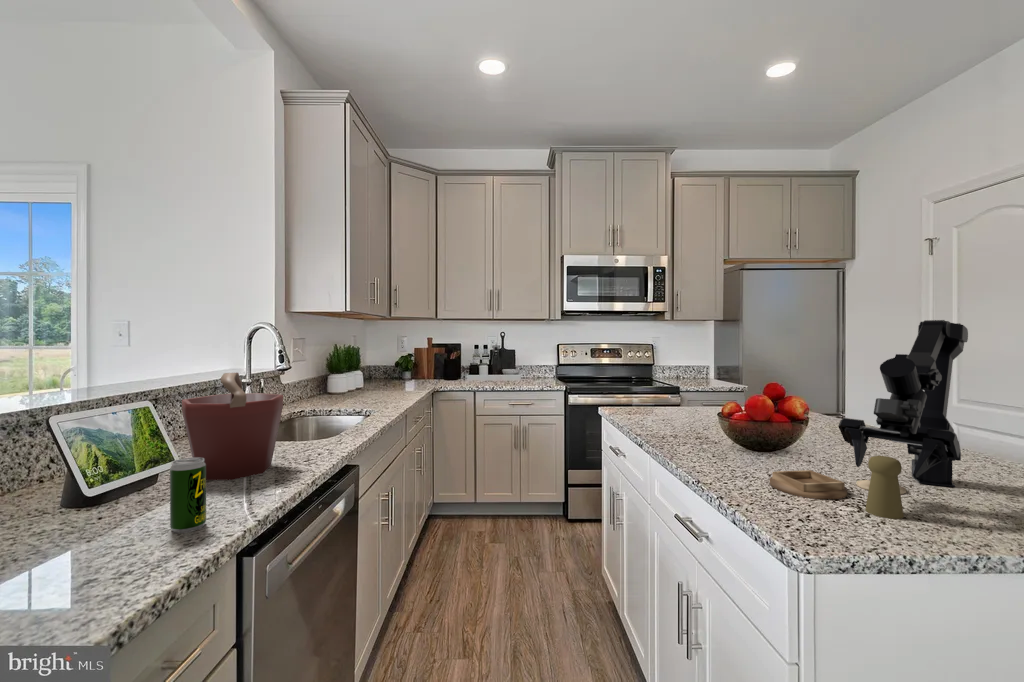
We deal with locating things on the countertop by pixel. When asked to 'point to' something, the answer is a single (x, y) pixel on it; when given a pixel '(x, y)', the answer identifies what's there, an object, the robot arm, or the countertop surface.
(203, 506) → the green soda can
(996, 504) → the countertop surface
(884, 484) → the pepper shaker
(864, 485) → the cork coaster
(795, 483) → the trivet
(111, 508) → the countertop surface
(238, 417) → the bucket
